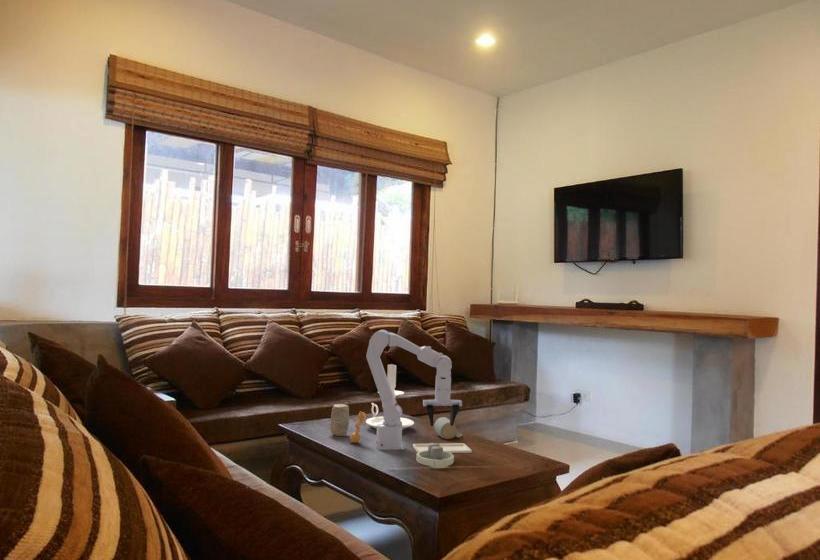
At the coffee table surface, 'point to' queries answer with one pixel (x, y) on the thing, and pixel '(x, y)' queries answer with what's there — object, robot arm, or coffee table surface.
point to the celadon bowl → (431, 463)
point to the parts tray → (446, 447)
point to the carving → (339, 419)
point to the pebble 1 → (430, 448)
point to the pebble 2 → (437, 453)
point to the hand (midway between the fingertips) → (441, 425)
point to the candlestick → (392, 381)
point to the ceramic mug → (446, 428)
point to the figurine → (358, 427)
